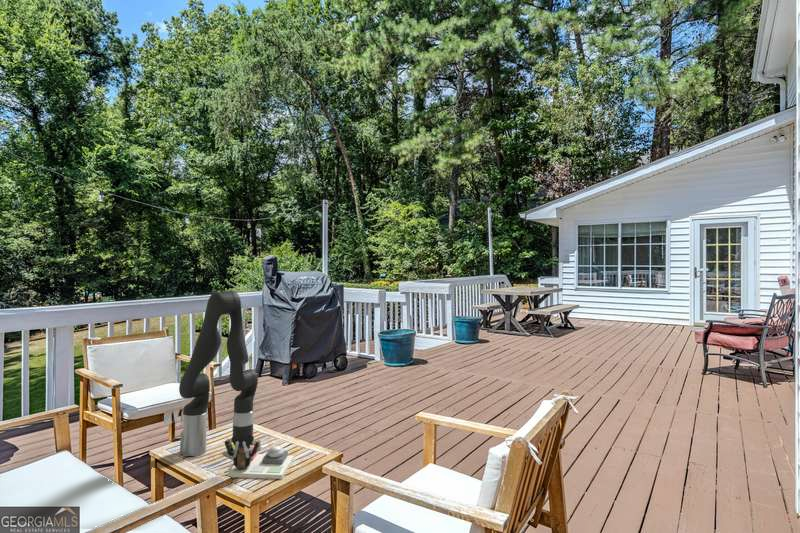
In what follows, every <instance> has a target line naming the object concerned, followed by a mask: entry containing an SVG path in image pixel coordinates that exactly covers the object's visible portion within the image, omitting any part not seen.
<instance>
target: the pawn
mask: <svg viewBox="0 0 800 533" xmlns="http://www.w3.org/2000/svg"><path fill="white" fill-rule="evenodd" d="M245 460H246V454H245V452H244V448H243V447H240V448H238V453H237V469H238V470H244V469H246V468H247V467H245Z"/></svg>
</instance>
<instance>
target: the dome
mask: <svg viewBox="0 0 800 533" xmlns="http://www.w3.org/2000/svg"><path fill="white" fill-rule="evenodd" d="M284 451H285V449H284V448H283V447H282V446H280V445H272V446H270V447H269V448H268V449H267V452H266V454H267V455H268V456H269V457H272V458H275V457H280V456H282V455H283V454H284Z"/></svg>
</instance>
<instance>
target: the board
mask: <svg viewBox="0 0 800 533" xmlns="http://www.w3.org/2000/svg"><path fill="white" fill-rule="evenodd" d="M293 459H294V460H295V455H289V451H288V450H284V454H283V455H282V456H280V457H275V458H272V457H269V456H268V455H267V453H264V454H263V453H262V454H259V453H257V455H256V457H255V458H254V460H253V461H251V463H250V465H249V466H248V467H247V468H246V469H244V470H238V469H237V467H235V465H234V464H233V466H232V467H231V468H230V469H229V471H227V475H228V476H231V477H230V478H249V479H250V478H251V479H273V480H274V479H277V480H283V478H284V476H285V475H286V473H287V471H288V470H289V468H290V467H291V465H292V464H293V462H292V461H294V460H293ZM290 464H291V465H290ZM289 466H290V467H289Z"/></svg>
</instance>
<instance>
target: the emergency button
mask: <svg viewBox="0 0 800 533" xmlns="http://www.w3.org/2000/svg"><path fill="white" fill-rule="evenodd" d="M251 445H253V442H252V443H251ZM232 447H233V450H234V449H235V445H234V444H233V443H232ZM262 450H264V447H262V444H261V442H260V444H259V447H258V449H257V452H260V451H262ZM221 454H222V455H224V456H225V457H227V458H229V459H230V460H232V461H234V457H233V456H229V454H228V451H227V450H226V451H224V452H223V453H221Z"/></svg>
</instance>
